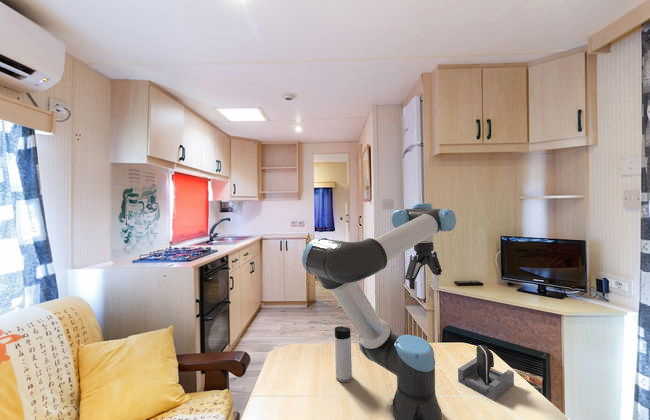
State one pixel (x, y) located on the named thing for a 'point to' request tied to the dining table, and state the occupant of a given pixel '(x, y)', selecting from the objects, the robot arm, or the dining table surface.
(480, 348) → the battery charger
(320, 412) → the dining table surface
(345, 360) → the travel mug
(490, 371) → the cradle
